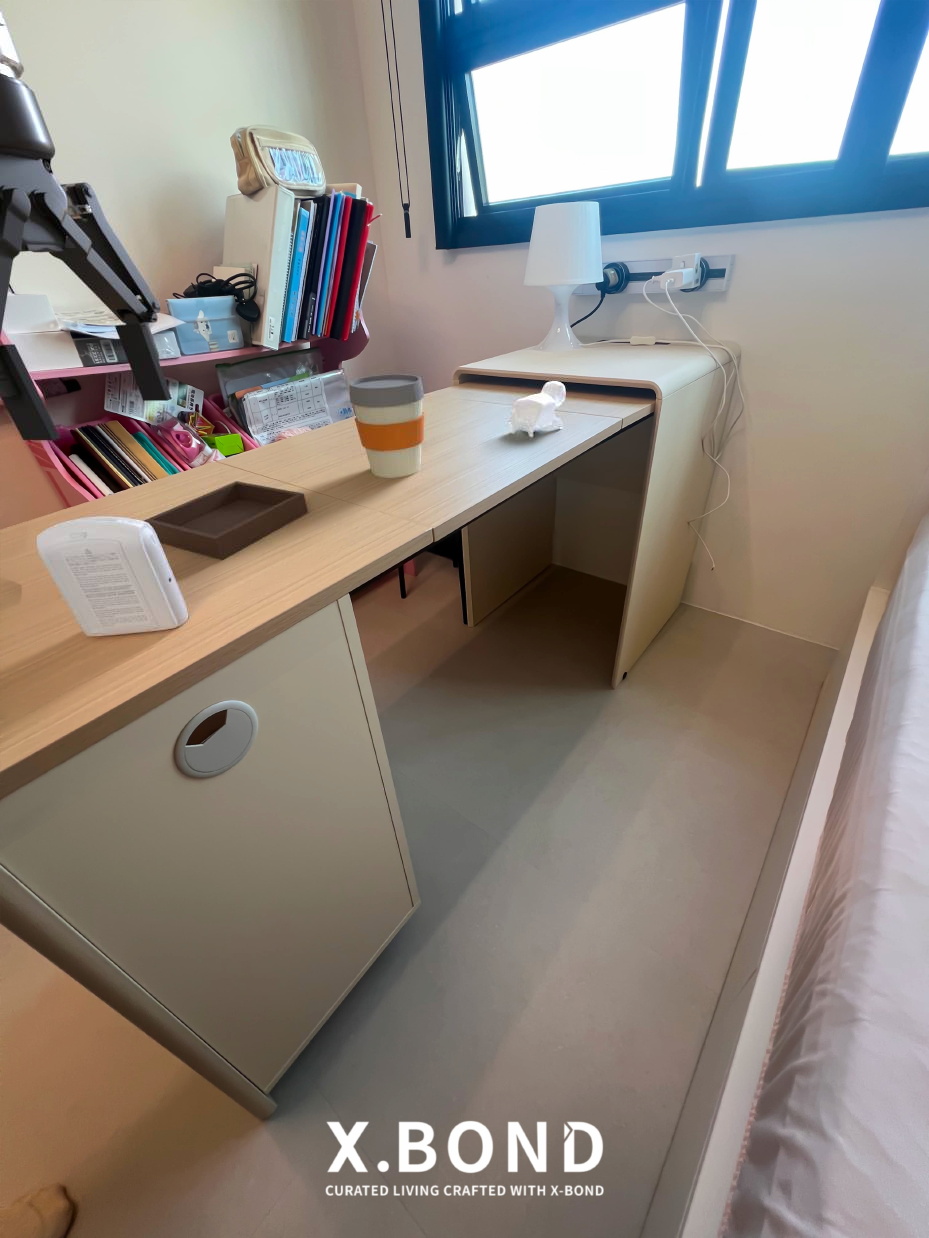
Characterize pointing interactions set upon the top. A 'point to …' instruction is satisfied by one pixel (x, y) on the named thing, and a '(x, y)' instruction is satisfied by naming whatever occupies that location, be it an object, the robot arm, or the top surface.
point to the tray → (228, 518)
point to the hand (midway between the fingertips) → (107, 417)
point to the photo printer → (113, 575)
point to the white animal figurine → (538, 409)
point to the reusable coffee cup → (390, 422)
